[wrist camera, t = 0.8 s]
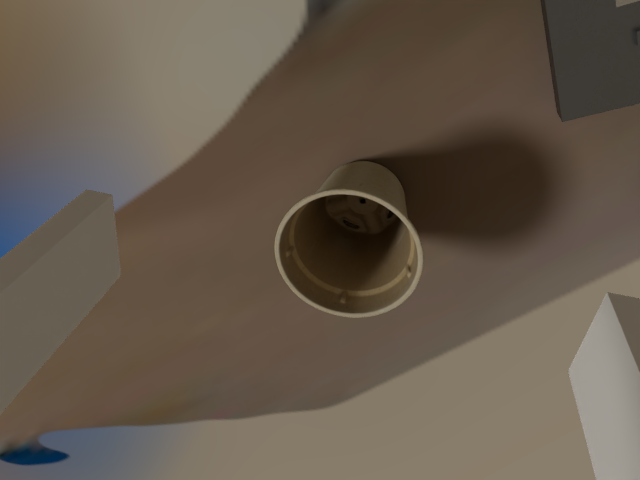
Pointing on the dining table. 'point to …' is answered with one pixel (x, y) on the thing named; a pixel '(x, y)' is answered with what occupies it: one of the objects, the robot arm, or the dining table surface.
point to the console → (593, 54)
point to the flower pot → (351, 244)
